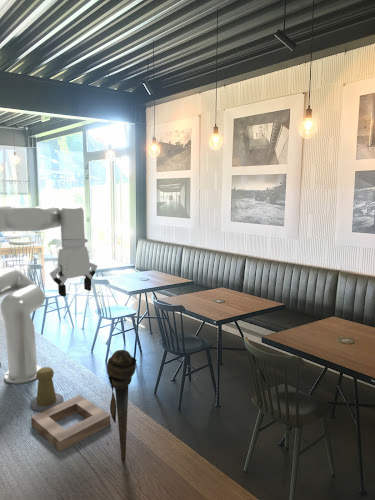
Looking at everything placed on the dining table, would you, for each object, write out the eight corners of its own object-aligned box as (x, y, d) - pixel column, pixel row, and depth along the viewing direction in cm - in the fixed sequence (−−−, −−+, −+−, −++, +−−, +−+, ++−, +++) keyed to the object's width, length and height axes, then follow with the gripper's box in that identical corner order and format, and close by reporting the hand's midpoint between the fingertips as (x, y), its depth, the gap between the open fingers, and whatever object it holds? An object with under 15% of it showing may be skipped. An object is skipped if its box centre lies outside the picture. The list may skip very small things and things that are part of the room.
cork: (49, 407, 121) (47, 374, 119) (32, 404, 123) (30, 372, 121) (60, 397, 127) (58, 365, 125) (43, 394, 128) (41, 363, 127)
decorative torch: (127, 448, 104) (125, 342, 98) (142, 462, 99) (140, 351, 93) (104, 460, 99) (100, 349, 94) (119, 475, 94) (115, 359, 89)
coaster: (24, 403, 125) (24, 401, 124) (53, 391, 132) (53, 389, 132) (39, 415, 118) (39, 414, 118) (69, 402, 125) (69, 400, 125)
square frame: (31, 426, 113) (31, 416, 113) (80, 403, 125) (79, 394, 124) (60, 451, 102) (59, 441, 102) (110, 424, 114) (110, 415, 114)
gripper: (89, 239, 139) (90, 286, 142) (43, 245, 127) (46, 296, 130) (101, 241, 134) (103, 289, 137) (55, 247, 122) (58, 300, 125)
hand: (75, 292), depth 134 cm, fingers open, 9 cm apart
